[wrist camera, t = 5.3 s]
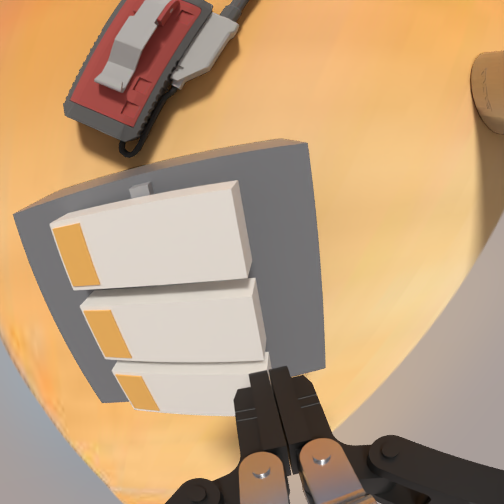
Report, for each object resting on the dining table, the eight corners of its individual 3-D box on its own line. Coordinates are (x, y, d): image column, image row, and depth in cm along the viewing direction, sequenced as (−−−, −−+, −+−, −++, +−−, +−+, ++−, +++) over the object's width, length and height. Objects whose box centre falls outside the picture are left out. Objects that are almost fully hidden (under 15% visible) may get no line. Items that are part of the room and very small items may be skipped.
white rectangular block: (237, 180, 14) (230, 189, 12) (252, 260, 16) (247, 279, 14) (68, 213, 16) (48, 224, 14) (89, 275, 17) (72, 291, 16)
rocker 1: (255, 277, 16) (251, 297, 14) (266, 338, 18) (263, 361, 16) (94, 290, 18) (78, 306, 16) (116, 342, 19) (104, 360, 17)
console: (280, 138, 22) (313, 143, 15) (302, 321, 29) (329, 380, 21) (54, 191, 22) (0, 220, 14) (116, 354, 28) (97, 414, 21)
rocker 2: (268, 351, 18) (266, 374, 16) (276, 394, 20) (274, 416, 18) (122, 353, 20) (110, 371, 18) (142, 392, 21) (134, 410, 19)
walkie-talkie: (159, 169, 23) (285, -33, 17) (148, 177, 19) (299, -57, 13) (66, 126, 20) (193, -69, 15) (39, 127, 16) (191, -96, 11)
